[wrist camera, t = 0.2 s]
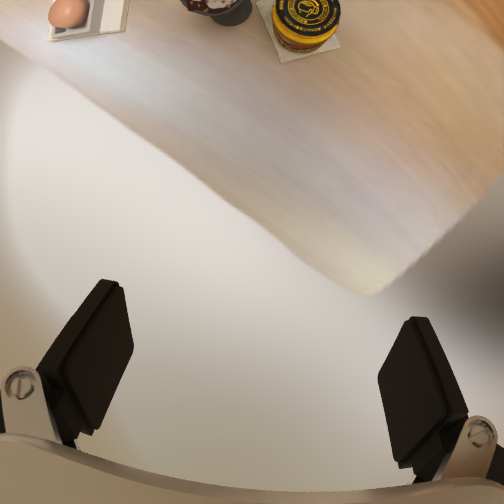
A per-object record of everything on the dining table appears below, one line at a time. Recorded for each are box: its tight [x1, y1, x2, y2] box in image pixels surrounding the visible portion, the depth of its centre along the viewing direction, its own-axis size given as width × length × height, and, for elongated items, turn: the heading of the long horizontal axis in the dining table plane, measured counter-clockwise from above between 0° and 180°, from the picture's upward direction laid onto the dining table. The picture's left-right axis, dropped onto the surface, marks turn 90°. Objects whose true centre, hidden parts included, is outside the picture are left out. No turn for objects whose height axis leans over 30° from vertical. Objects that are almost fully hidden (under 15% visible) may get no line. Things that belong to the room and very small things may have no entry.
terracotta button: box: [48, 0, 90, 29], centre depth 25 cm, size 4×4×3 cm
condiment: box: [255, 0, 341, 63], centre depth 24 cm, size 7×8×12 cm
